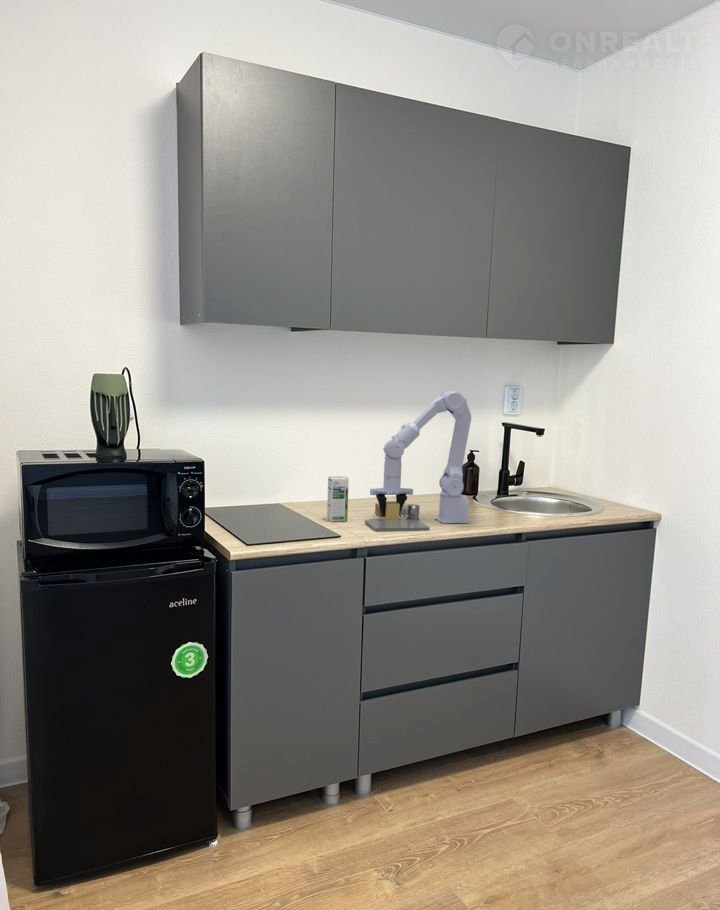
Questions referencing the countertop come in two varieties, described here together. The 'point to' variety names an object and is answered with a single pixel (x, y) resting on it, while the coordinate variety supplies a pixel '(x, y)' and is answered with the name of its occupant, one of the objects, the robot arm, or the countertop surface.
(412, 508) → the dark metal cylinder
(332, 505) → the syrup box
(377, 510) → the walnut block
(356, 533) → the countertop surface
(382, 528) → the slate board
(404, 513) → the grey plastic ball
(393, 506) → the ochre block
